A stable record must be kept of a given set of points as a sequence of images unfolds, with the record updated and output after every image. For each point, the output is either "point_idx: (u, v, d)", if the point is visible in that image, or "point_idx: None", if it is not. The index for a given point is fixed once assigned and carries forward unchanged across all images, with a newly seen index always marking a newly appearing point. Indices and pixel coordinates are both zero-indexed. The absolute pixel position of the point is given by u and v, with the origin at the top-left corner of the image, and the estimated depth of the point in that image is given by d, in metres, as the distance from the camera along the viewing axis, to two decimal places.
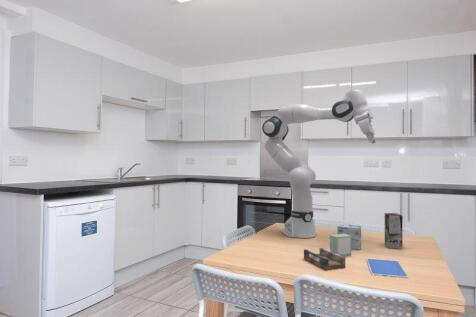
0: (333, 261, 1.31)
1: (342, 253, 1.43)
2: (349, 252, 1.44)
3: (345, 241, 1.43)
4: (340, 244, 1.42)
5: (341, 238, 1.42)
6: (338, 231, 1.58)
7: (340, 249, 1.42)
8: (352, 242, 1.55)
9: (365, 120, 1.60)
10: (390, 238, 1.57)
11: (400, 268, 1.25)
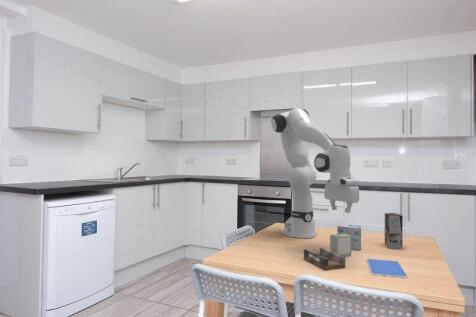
0: (333, 261, 1.31)
1: (342, 253, 1.43)
2: (349, 252, 1.44)
3: (345, 241, 1.43)
4: (340, 244, 1.42)
5: (341, 238, 1.42)
6: (338, 231, 1.58)
7: (340, 249, 1.42)
8: (352, 242, 1.55)
9: (357, 188, 1.37)
10: (390, 238, 1.57)
11: (400, 268, 1.25)
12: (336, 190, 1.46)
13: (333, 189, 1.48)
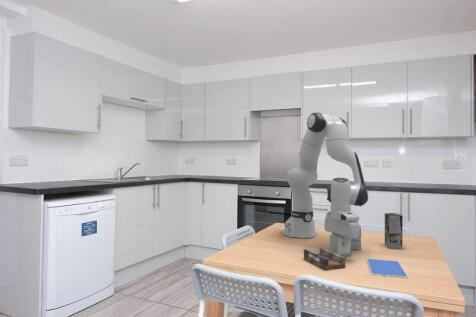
0: (333, 261, 1.31)
1: (342, 253, 1.43)
2: (349, 252, 1.44)
3: None
4: (340, 244, 1.42)
5: (341, 238, 1.43)
6: None
7: (340, 249, 1.42)
8: (352, 242, 1.55)
9: (357, 225, 1.37)
10: (390, 238, 1.57)
11: (400, 268, 1.25)
12: (336, 224, 1.46)
13: (333, 222, 1.48)
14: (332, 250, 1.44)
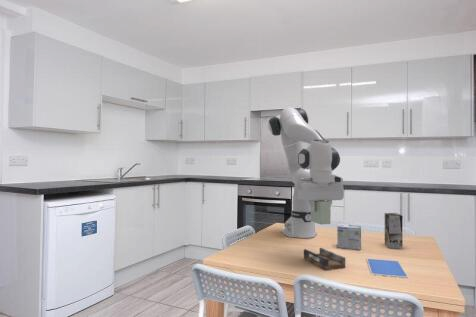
0: (333, 261, 1.31)
1: None
2: None
3: None
4: None
5: None
6: (338, 231, 1.58)
7: None
8: (352, 242, 1.55)
9: None
10: (390, 238, 1.57)
11: (400, 268, 1.25)
12: (320, 189, 1.33)
13: (316, 188, 1.32)
14: (324, 218, 1.30)
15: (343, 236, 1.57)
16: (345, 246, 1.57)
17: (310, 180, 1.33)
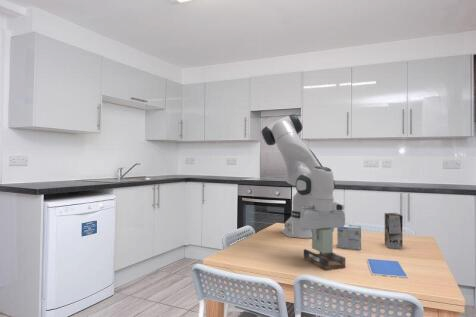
0: (333, 261, 1.31)
1: None
2: None
3: None
4: None
5: None
6: (338, 231, 1.58)
7: None
8: (352, 242, 1.55)
9: None
10: (390, 238, 1.57)
11: (400, 268, 1.25)
12: (322, 217, 1.32)
13: (318, 216, 1.31)
14: (326, 246, 1.30)
15: (343, 236, 1.57)
16: (345, 246, 1.57)
17: (312, 208, 1.32)
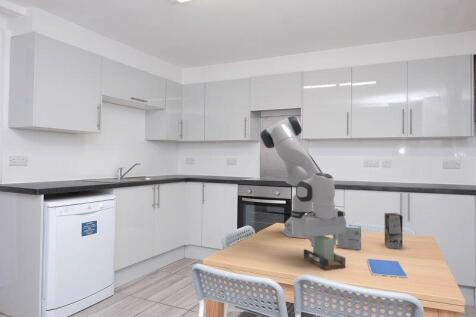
0: None
1: None
2: None
3: None
4: None
5: None
6: None
7: None
8: (352, 242, 1.55)
9: None
10: (390, 238, 1.57)
11: (400, 268, 1.25)
12: (324, 224, 1.32)
13: (319, 223, 1.31)
14: (328, 256, 1.30)
15: (343, 236, 1.57)
16: (345, 246, 1.57)
17: (313, 215, 1.32)
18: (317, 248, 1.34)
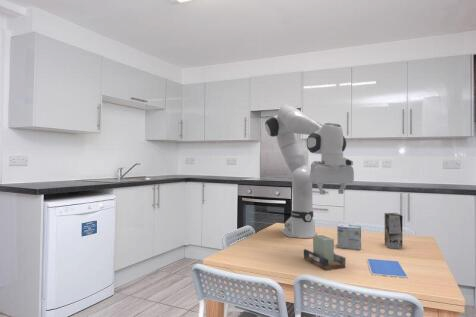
0: None
1: None
2: None
3: None
4: None
5: None
6: (338, 231, 1.58)
7: None
8: (352, 242, 1.55)
9: None
10: (390, 238, 1.57)
11: (400, 268, 1.25)
12: (332, 172, 1.35)
13: (328, 171, 1.34)
14: (328, 256, 1.30)
15: (343, 236, 1.57)
16: (345, 246, 1.57)
17: (322, 163, 1.34)
18: (317, 248, 1.34)
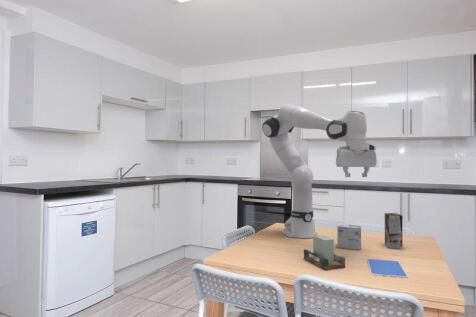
0: None
1: None
2: None
3: None
4: None
5: None
6: (338, 231, 1.58)
7: None
8: (352, 242, 1.55)
9: None
10: (390, 238, 1.57)
11: (400, 268, 1.25)
12: (357, 156, 1.45)
13: (353, 155, 1.44)
14: (328, 256, 1.30)
15: (343, 236, 1.57)
16: (345, 246, 1.57)
17: (347, 148, 1.44)
18: (317, 248, 1.34)
